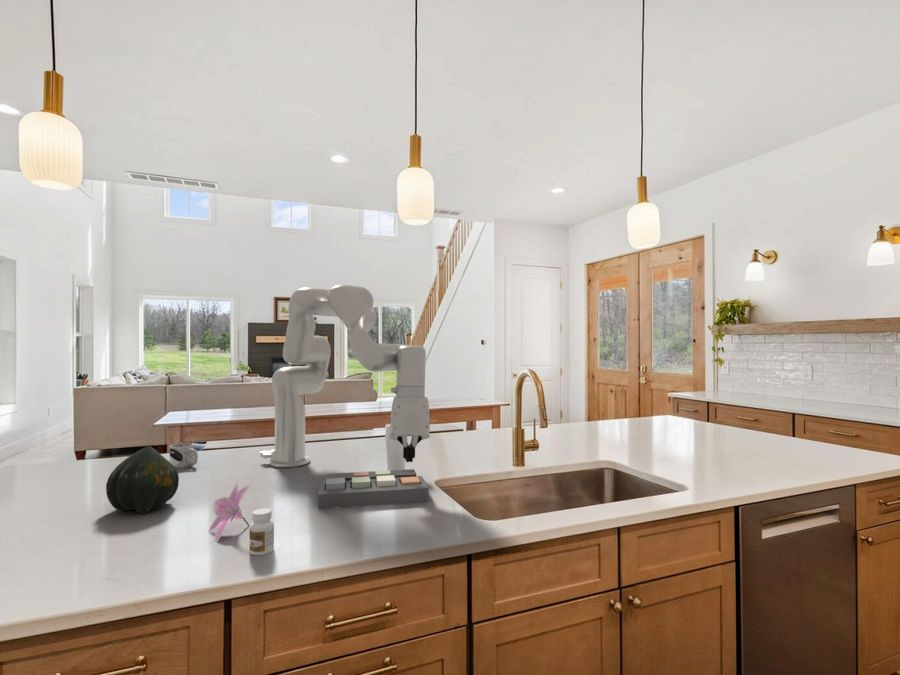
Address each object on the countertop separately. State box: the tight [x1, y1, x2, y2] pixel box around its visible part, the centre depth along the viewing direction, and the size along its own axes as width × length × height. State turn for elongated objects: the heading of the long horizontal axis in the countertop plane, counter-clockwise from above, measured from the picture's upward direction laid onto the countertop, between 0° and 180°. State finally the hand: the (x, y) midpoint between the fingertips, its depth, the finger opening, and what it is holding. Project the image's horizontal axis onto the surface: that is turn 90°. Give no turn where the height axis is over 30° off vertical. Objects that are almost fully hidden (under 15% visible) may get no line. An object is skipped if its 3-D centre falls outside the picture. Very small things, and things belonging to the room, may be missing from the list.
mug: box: [169, 442, 199, 470], centre depth 151 cm, size 10×7×7 cm
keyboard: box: [317, 468, 429, 510], centre depth 125 cm, size 27×16×4 cm, turn 102°
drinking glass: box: [384, 423, 409, 471], centre depth 145 cm, size 7×7×15 cm
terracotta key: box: [400, 477, 420, 485], centre depth 126 cm, size 5×5×2 cm
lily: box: [208, 482, 251, 543], centre depth 102 cm, size 12×12×10 cm
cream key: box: [376, 475, 396, 487], centre depth 124 cm, size 5×5×2 cm
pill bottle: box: [249, 507, 275, 556], centre depth 92 cm, size 4×4×8 cm
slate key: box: [325, 478, 345, 490], centre depth 121 cm, size 5×5×2 cm
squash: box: [105, 446, 180, 514], centre depth 115 cm, size 14×15×15 cm
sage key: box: [352, 476, 370, 488], centre depth 123 cm, size 5×5×2 cm
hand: (408, 460), depth 126 cm, fingers closed
